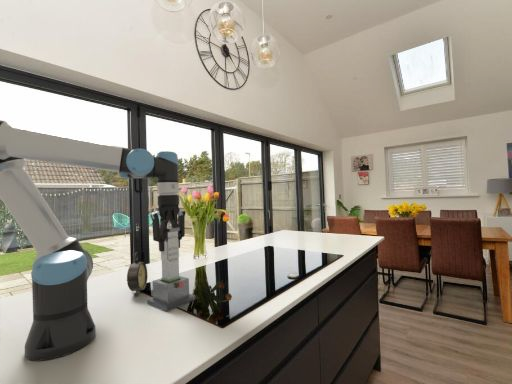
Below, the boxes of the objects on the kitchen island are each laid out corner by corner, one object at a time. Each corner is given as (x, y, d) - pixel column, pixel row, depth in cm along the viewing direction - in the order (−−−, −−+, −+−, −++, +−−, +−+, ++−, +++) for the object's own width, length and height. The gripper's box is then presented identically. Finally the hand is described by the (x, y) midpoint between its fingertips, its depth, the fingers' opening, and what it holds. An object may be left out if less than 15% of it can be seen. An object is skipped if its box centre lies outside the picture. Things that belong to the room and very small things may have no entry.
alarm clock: (139, 297, 101) (138, 255, 101) (124, 298, 101) (123, 255, 101) (148, 287, 112) (147, 249, 112) (135, 288, 112) (134, 249, 112)
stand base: (166, 311, 87) (166, 287, 87) (147, 303, 95) (146, 281, 95) (195, 299, 97) (194, 277, 97) (175, 293, 104) (174, 272, 104)
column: (170, 283, 92) (169, 228, 92) (160, 280, 96) (158, 228, 96) (181, 280, 96) (179, 227, 96) (170, 277, 100) (169, 226, 100)
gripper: (152, 194, 87) (154, 265, 87) (193, 193, 101) (195, 255, 101) (140, 195, 92) (142, 262, 91) (181, 194, 105) (183, 253, 105)
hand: (170, 258), depth 96 cm, fingers closed on column, 4 cm apart
